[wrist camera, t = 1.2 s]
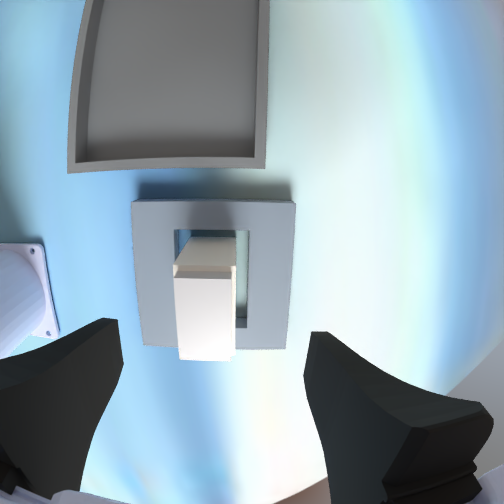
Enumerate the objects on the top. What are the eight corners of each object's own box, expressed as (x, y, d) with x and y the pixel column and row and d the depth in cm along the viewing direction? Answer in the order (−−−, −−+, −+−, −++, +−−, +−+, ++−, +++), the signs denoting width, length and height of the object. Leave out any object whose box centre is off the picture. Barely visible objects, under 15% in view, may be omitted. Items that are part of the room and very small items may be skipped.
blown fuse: (192, 306, 22) (176, 363, 15) (190, 236, 21) (168, 271, 14) (235, 307, 22) (235, 365, 15) (236, 237, 21) (235, 273, 14)
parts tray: (84, 172, 19) (67, 173, 17) (103, -5, 15) (91, -20, 13) (261, 168, 20) (265, 168, 17) (266, -18, 16) (270, -36, 13)
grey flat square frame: (148, 334, 22) (143, 345, 21) (138, 199, 20) (130, 201, 18) (282, 338, 23) (285, 349, 21) (291, 200, 20) (296, 203, 19)
